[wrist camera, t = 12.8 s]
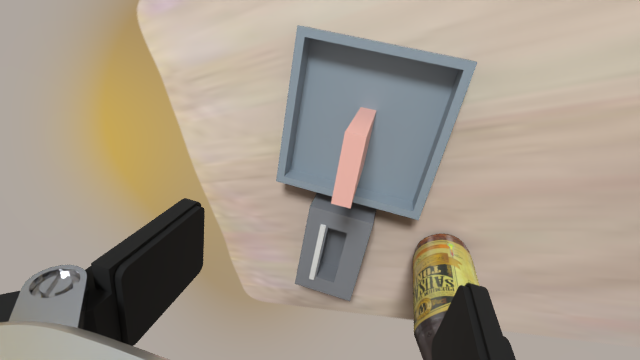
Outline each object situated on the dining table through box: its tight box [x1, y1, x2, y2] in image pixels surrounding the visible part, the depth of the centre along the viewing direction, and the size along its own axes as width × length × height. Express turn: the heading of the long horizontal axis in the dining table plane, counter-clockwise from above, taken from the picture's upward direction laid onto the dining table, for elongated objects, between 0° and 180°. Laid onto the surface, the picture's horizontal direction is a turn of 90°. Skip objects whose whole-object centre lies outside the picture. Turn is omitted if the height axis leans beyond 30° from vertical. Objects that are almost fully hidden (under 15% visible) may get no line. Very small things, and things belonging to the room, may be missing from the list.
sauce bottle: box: [413, 234, 479, 360], centre depth 28 cm, size 6×6×20 cm
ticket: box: [331, 107, 376, 208], centre depth 29 cm, size 2×6×10 cm, turn 171°
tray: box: [276, 26, 477, 220], centre depth 32 cm, size 16×16×3 cm
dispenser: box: [295, 193, 376, 301], centre depth 38 cm, size 7×11×4 cm, turn 169°
